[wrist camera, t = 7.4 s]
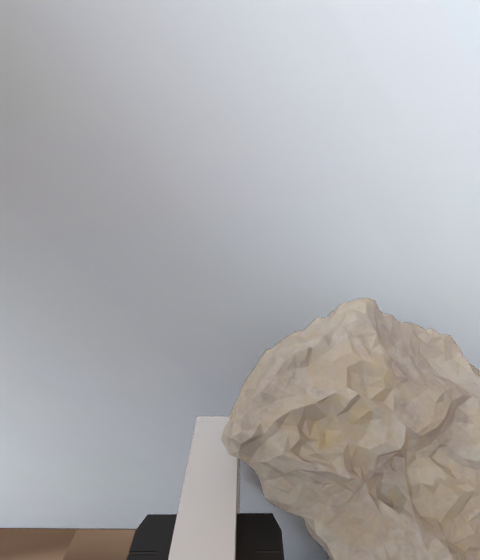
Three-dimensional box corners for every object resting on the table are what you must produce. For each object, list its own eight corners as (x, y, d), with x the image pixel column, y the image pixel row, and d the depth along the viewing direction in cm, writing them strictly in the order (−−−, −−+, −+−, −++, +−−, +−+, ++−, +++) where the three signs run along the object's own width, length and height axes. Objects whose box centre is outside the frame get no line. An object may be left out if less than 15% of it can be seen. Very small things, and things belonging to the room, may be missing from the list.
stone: (380, 272, 17) (366, 236, 8) (632, 519, 14) (1137, 972, 4) (264, 375, 19) (144, 442, 10) (458, 619, 15) (554, 1088, 6)
